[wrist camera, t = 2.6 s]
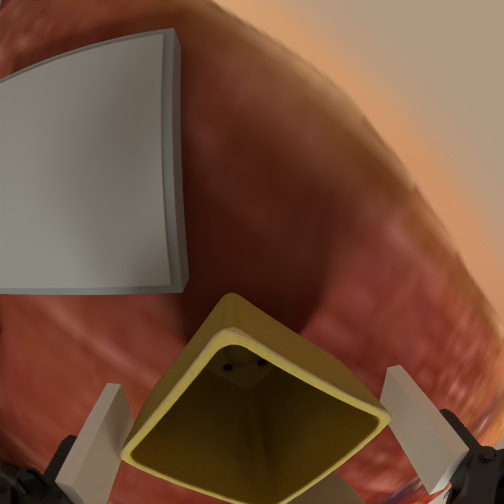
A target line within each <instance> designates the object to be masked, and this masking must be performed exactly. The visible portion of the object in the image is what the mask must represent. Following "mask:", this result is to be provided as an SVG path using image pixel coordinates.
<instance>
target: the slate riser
mask: <svg viewBox="0 0 504 504" xmlns="http://www.w3.org/2000/svg"><path fill="white" fill-rule="evenodd" d="M181 51H182V48H181V45H180V42H179V39H178V36H177V34H176V31H175V28H168V29H161V30H155V31H149V32H143V33H138V34H133V35H128V36H124V37H119V38H115V39H111V40H107V41H103V42H99V43H95V44H92V45H88V46H85V47H81V48H78V49H75V50H72V51H69V52H66V53H63V54H60V55H57V56H54V57H52V58H49V59H46V60H44V61H41V62H39V63H36V64H34V65H31V66H29V67H27V68H24V69H22V70H20V71H17V72H15V73H13V74H11V75H9V76H7V77H5V78H3V79H1V80H0V294H34V295H110V294H156V293H183V290H184V288H185V286H186V284H187V282H188V279H189V268H188V257H187V244H186V231H185V216H184V199H183V179H182V152H181Z"/></svg>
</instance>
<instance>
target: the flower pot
mask: <svg viewBox="0 0 504 504" xmlns="http://www.w3.org/2000/svg"><path fill="white" fill-rule="evenodd" d="M260 359H266V361H267V362H266V363H265V364H264V365H259V364H258V361H259V360H260ZM226 364H230V365H232V369H230V370H225V369H224V365H226ZM391 419H392V416H391V414H390V413H389V412H388V410H387V409H386V408H385V407H384V406H383V405H382V404H381V403H380V402H379V401H378V400H377V399H376V397H375V396H374V395H373V394H372V393H371V392H370V391H369V390H368V389H367V388H366V387H365V386H364V385H363V384H362V383H361V381H360V380H359V379H358V378H357V377H356V376H355V375H354V374H353V373H352V372H351V371H350V370H349V369H348V368H347V367H346V366H345V365H344V364H343V363H342V362H341V361H339V360H338V359H337V358H335V357H334V356H333V355H331V354H330V353H328V352H327V351H325V350H323V349H322V348H320V347H318V346H317V345H315V344H313V343H311V342H310V341H308V340H307V339H305V338H303V337H302V336H300V335H298V334H297V333H295V332H294V331H292V330H291V329H289V328H287V327H286V326H284V325H283V324H281V323H280V322H278V321H277V320H275V319H274V318H272V317H271V316H269V315H267V314H266V313H264V312H263V311H262V310H260V309H259V308H257V307H256V306H254V305H253V304H251V303H250V302H249V301H247V300H246V299H244V298H243V297H241V296H240V295H238V294H236V293H228V294H226V295H224V296H223V297H222V298H221V300H220V301H219V302H218V303H217V305H216V306H215V307H214V309H213V310H212V312H211V313H210V314H209V316H208V317H207V318H206V320H205V321H204V322H203V324H202V325H201V327H200V328H199V329H198V331H197V332H196V333H195V335H194V336H193V337H192V339H191V340H190V341H189V343H188V344H187V345H186V347H185V348H184V349H183V351H182V352H181V353H180V354H179V356H178V357H177V358H176V360H175V361H174V362H173V363H172V365H171V366H170V367H169V369H168V370H167V371H166V372H165V374H164V375H163V376H162V377H161V378H160V380H159V381H158V382H157V384H156V385H155V386H154V388H153V389H152V391H151V392H150V394H149V395H148V397H147V399H146V401H145V403H144V405H143V407H142V409H141V411H140V413H139V415H138V417H137V418H136V420H135V422H134V424H133V426H132V428H131V430H130V432H129V434H128V436H127V438H126V440H125V442H124V445H123V447H122V449H121V451H120V457H121V459H123V460H124V461H126V462H127V463H129V464H131V465H133V466H135V467H137V468H139V469H141V470H143V471H145V472H148V473H150V474H152V475H155V476H157V477H160V478H163V479H165V480H168V481H170V482H172V483H175V484H178V485H180V486H183V487H186V488H189V489H192V490H195V491H198V492H201V493H204V494H207V495H210V496H213V497H216V498H219V499H222V500H225V501H228V502H231V503H234V504H286V503H287V502H289V501H291V500H292V499H294V498H295V497H297V496H298V495H300V494H301V493H303V492H304V491H306V490H307V489H309V488H310V487H311V486H313V485H314V484H316V483H317V482H319V481H320V480H322V479H323V478H324V477H326V476H327V475H328V474H330V473H331V472H332V471H334V470H335V469H336V468H338V467H339V466H340V465H342V464H343V463H344V462H345V461H347V460H348V459H349V458H350V457H351V456H353V455H354V454H355V453H356V452H358V451H359V450H360V449H361V448H363V447H364V446H365V445H366V444H367V443H368V442H369V441H370V440H372V439H373V438H374V437H375V436H376V435H377V434H378V433H379V432H380V431H381V430H382V429H383V428H384V427H385V426H386V425H387V424H388V423H389V422H390V421H391Z"/></svg>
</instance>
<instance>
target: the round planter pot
mask: <svg viewBox="0 0 504 504" xmlns="http://www.w3.org/2000/svg"><path fill="white" fill-rule="evenodd" d="M286 504H365V502H364V501H363V500H362V498H361V497H360V496H359V494H358V493H357V492H356V491H355V490H354V489H353V488H352V487H351V485H349V484H348V483H347V482H346V481H345V480H344V479H343V478H342V477H340V476H339V475H338V474H337V473H335V472H334V471H332V472H331V473H330V474H328V475H327V476H326V477H324V478H323V479H322V480H320V481H319V482H317V483H316V484H314V485H313V486H311V487H310V488H309V489H307V490H306V491H304V492H303V493H301V494H300V495H298V496H297V497H295V498H294V499H292V500H291V501H289V502H287V503H286Z"/></svg>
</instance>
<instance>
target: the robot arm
mask: <svg viewBox="0 0 504 504" xmlns="http://www.w3.org/2000/svg"><path fill="white" fill-rule="evenodd" d="M380 403H381V404H382V405H383V406H384V407H385V408H386V409H387V410H388V412H389V413H390V414H391V416H392V419H391V421H390V422H389V423H388V425H389V426H390V428H391V430H392V431H393V433H394V435H395V436H396V438H397V440H398V442H399V443H400V445H401V447H402V448H403V450H404V452H405V453H406V455H407V457H408V459H409V460H410V462H411V464H412V465H413V467H414V469H415V471H416V472H417V474H418V476H419V478H420V479H421V481H422V483H423V484H424V486H425V488H426V490H427V492H428V493H429V495H431V494H433V493H435V492H437V491H440V490H442V489H444V488H445V486H446V485H447V483H448V482H449V481H450V483H451V484H452V486H451V488H450V489H449V490H448V492H447V493H446V494H445V496H444V499H446V497H447V496H448V498H447V501H446V504H504V449H500V450H495V449H494V448H493V447H489V446H481V445H480V444H479V443H478V442H477V440H476V439H475V438H474V437H473V436H472V434H471V433H470V432H469V431H468V430H467V428H466V427H464V425H463V424H462V422H460V421H459V419H458V418H457V417H456V415H455V414H454V413H452V412H450V411H449V410H447V409H442V410H440V411H438V410H437V408H436V407H435V406H434V405H433V403H432V402H431V401H430V400H429V399H428V397H427V396H426V395H425V394H424V393H423V391H422V390H421V389H420V388H419V387H418V385H417V384H416V383H415V382H414V381H413V379H412V378H411V377H410V376H409V375H408V374H407V372H406V371H405V370H404V369H403V368H402V367H401V365H398V366H393V367H388V368H387V372H386V377H385V381H384V386H383V390H382V394H381V398H380ZM133 424H134V421H133V418H132V415H131V413H130V410H129V407H128V404H127V401H126V398H125V395H124V392H123V389H122V385H121V384H113V383H107V385H106V386H105V388H104V390H103V392H102V393H101V395H100V397H99V399H98V400H97V402H96V404H95V406H94V408H93V409H92V411H91V413H90V415H89V417H88V418H87V420H86V422H85V424H84V426H83V428H82V429H81V431H80V433H79V435H78V436H74V435H69V436H67V437H66V438H65V439H64V440H63V441H62V442H61V444H60V445H59V447H58V451H56V453H55V454H54V457H53V458H52V460H51V462H50V463H49V465H48V467H47V469H46V471H45V473H44V475H42V474H41V473H40V471H38V470H37V469H35V468H31V467H28V468H23V469H21V470H20V469H18V468H16V467H14V466H12V465H9V464H7V463H4V462H0V504H107V501H108V498H109V495H110V492H111V489H112V486H113V483H114V480H115V477H116V474H117V471H118V468H119V465H120V462H121V457H120V451H121V449H122V447H123V445H124V442H125V440H126V438H127V436H128V434H129V432H130V430H131V428H132V426H133Z"/></svg>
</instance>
